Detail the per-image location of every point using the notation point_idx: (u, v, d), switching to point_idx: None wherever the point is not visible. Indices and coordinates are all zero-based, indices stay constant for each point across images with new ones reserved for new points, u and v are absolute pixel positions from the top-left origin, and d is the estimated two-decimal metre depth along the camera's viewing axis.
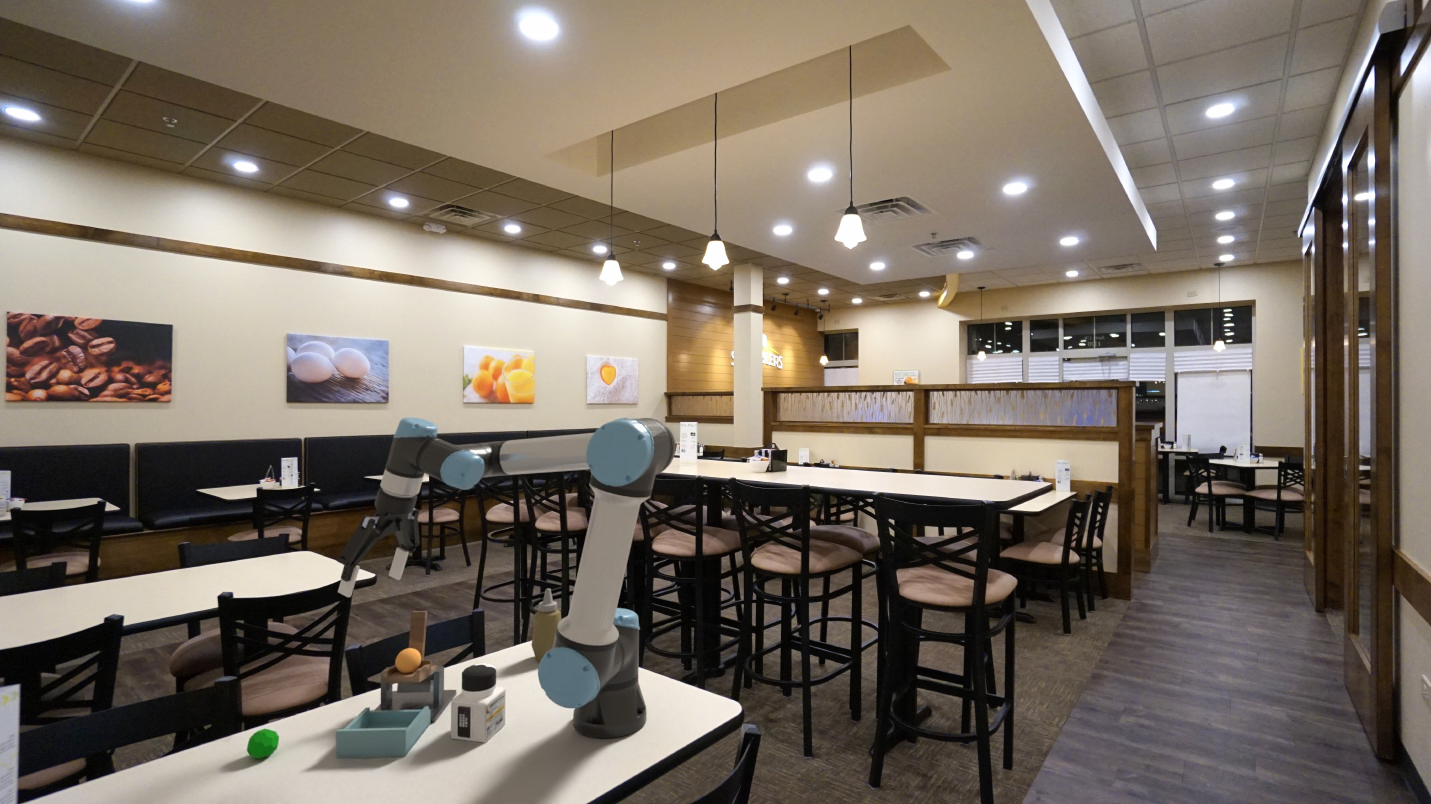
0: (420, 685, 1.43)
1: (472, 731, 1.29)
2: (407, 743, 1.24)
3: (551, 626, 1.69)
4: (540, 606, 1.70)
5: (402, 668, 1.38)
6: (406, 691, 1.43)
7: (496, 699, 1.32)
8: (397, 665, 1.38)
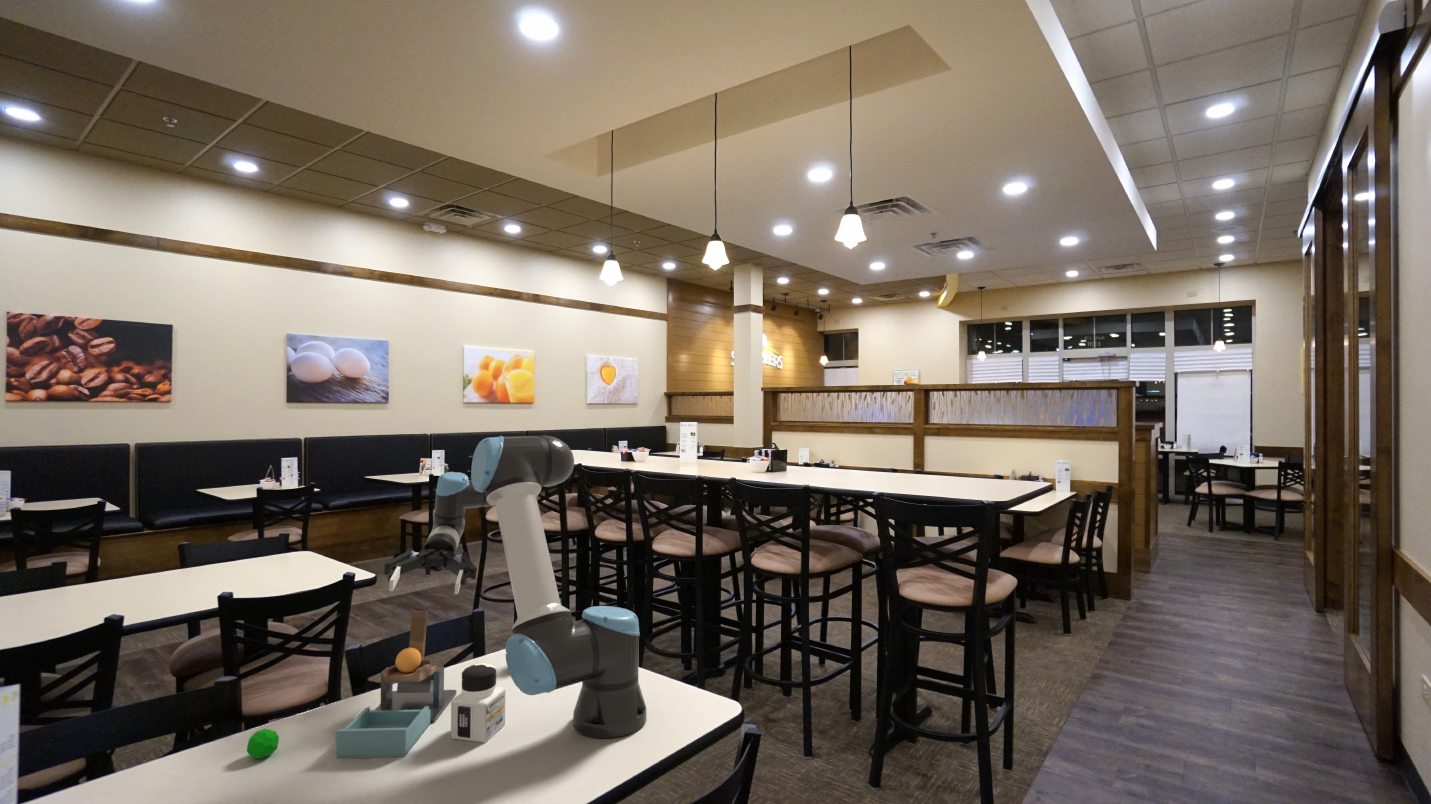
0: (420, 685, 1.43)
1: (472, 731, 1.29)
2: (407, 743, 1.24)
3: None
4: None
5: (402, 667, 1.38)
6: (406, 691, 1.43)
7: (496, 699, 1.32)
8: (397, 664, 1.38)
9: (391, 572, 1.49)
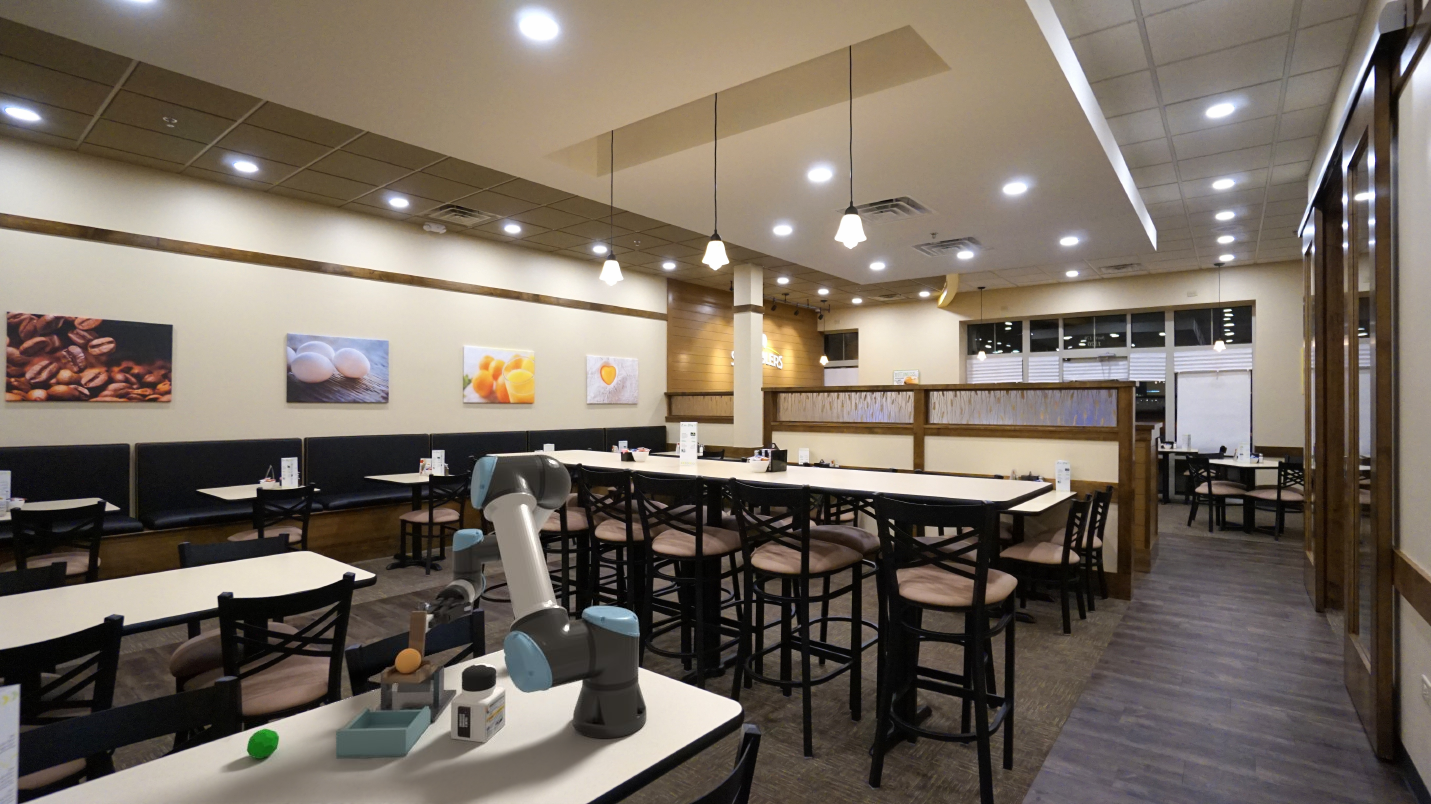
0: (420, 685, 1.43)
1: (472, 731, 1.29)
2: (407, 743, 1.24)
3: None
4: None
5: (402, 668, 1.38)
6: (406, 691, 1.43)
7: (496, 699, 1.32)
8: (397, 666, 1.38)
9: None
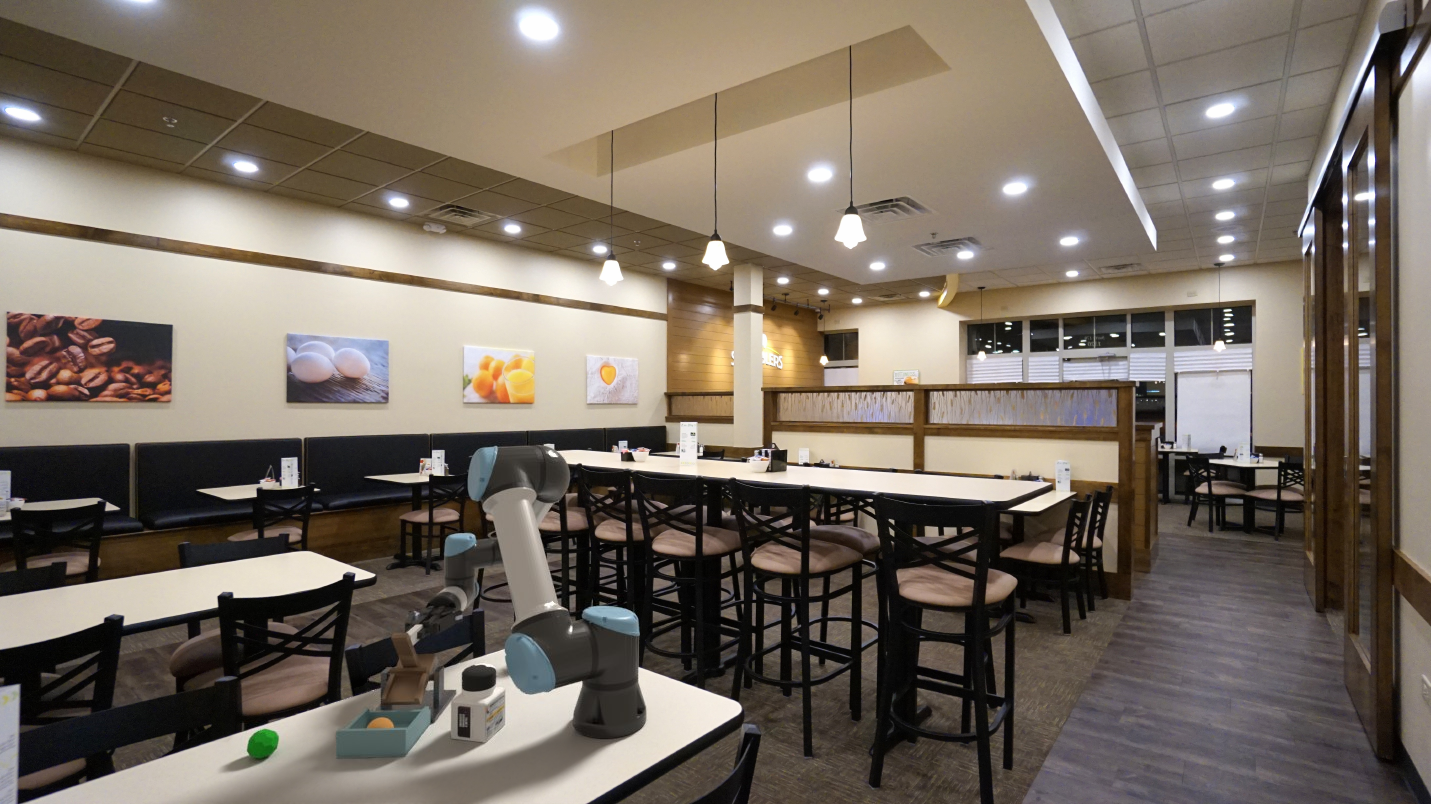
0: None
1: (472, 731, 1.29)
2: (407, 743, 1.24)
3: None
4: None
5: None
6: None
7: (496, 699, 1.32)
8: None
9: (409, 630, 1.44)
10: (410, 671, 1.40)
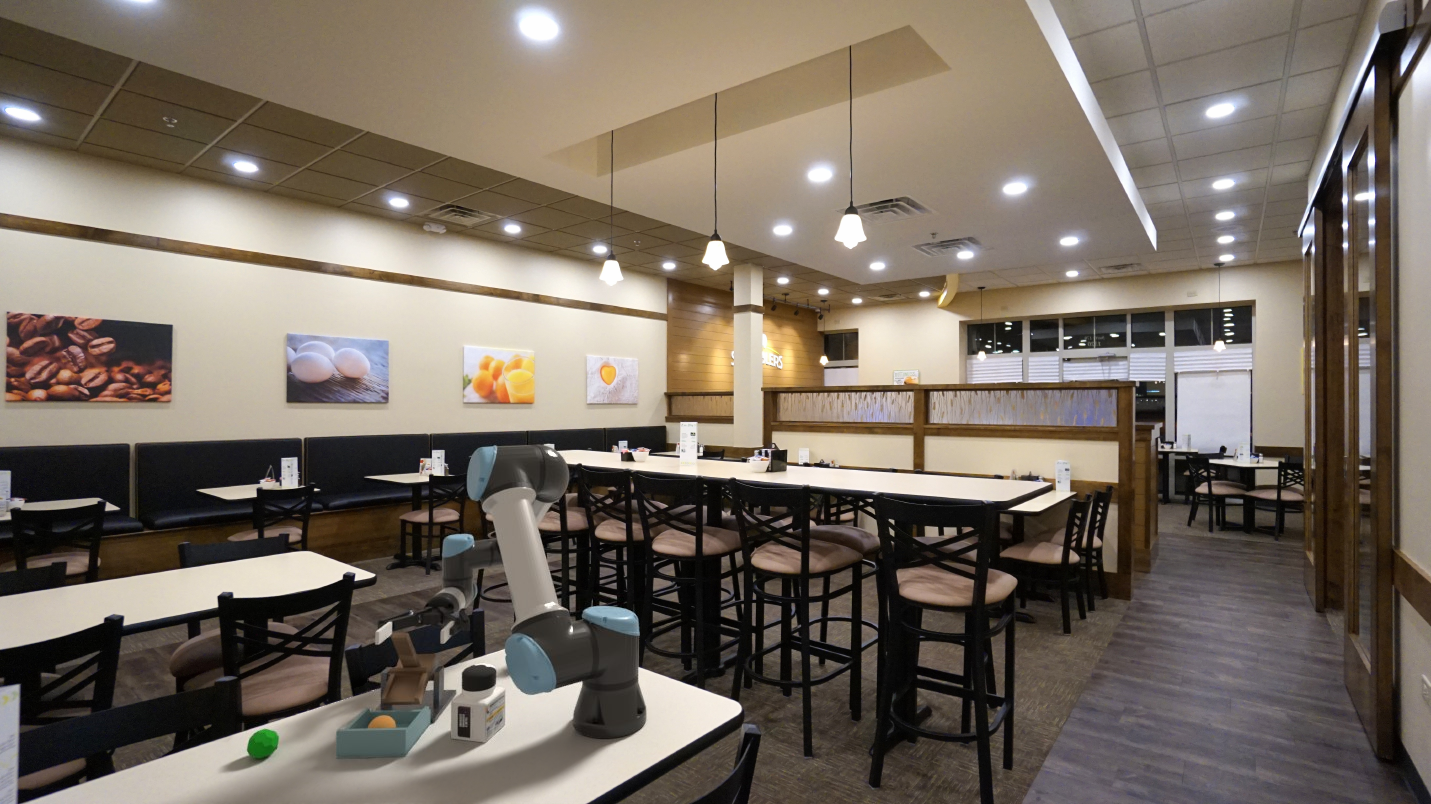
0: None
1: (472, 731, 1.29)
2: (407, 743, 1.24)
3: None
4: None
5: (375, 725, 1.26)
6: None
7: (496, 699, 1.32)
8: (370, 724, 1.26)
9: None
10: (410, 671, 1.40)
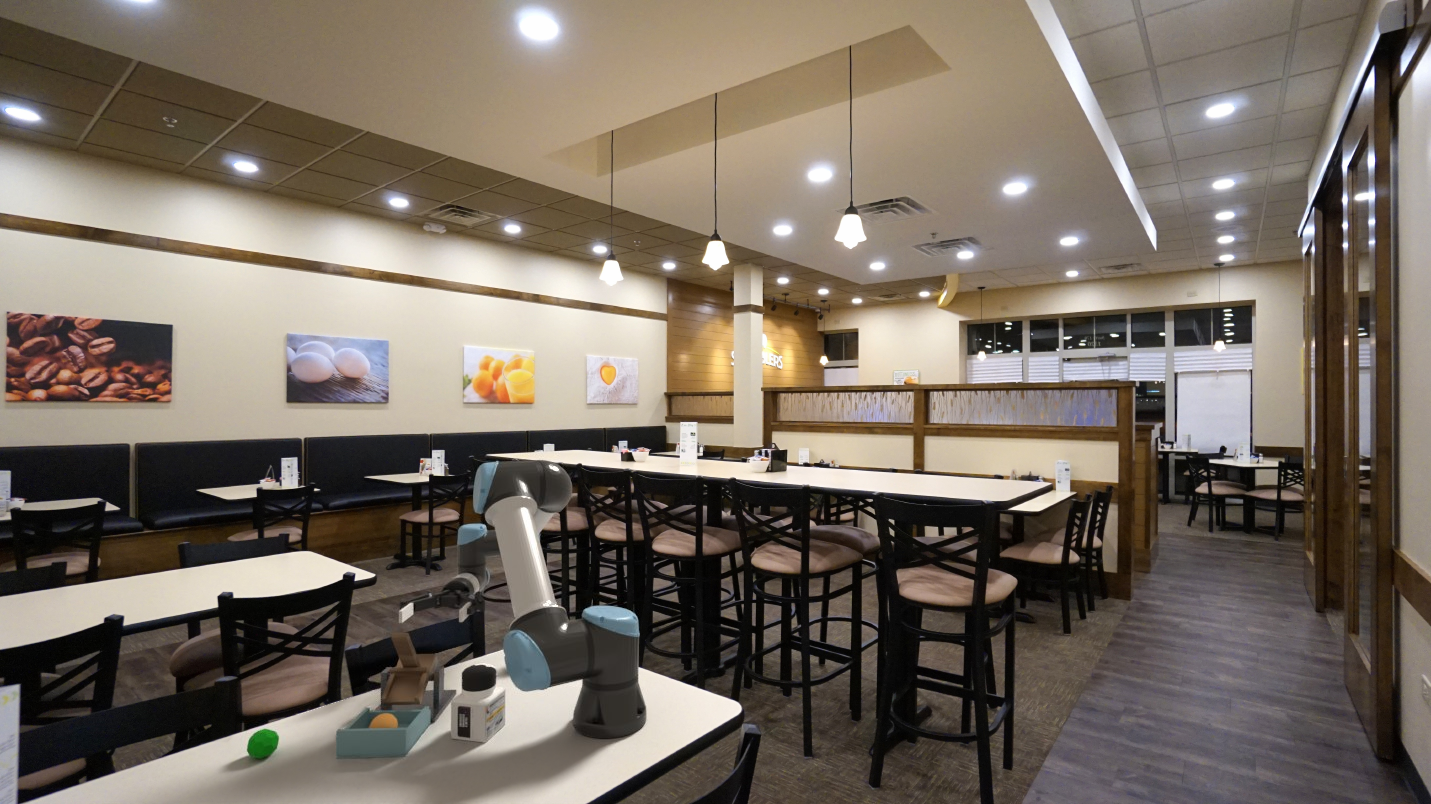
0: None
1: (472, 731, 1.29)
2: (407, 743, 1.24)
3: None
4: None
5: (379, 718, 1.27)
6: None
7: (496, 699, 1.32)
8: (374, 719, 1.28)
9: (404, 607, 1.57)
10: (410, 671, 1.40)
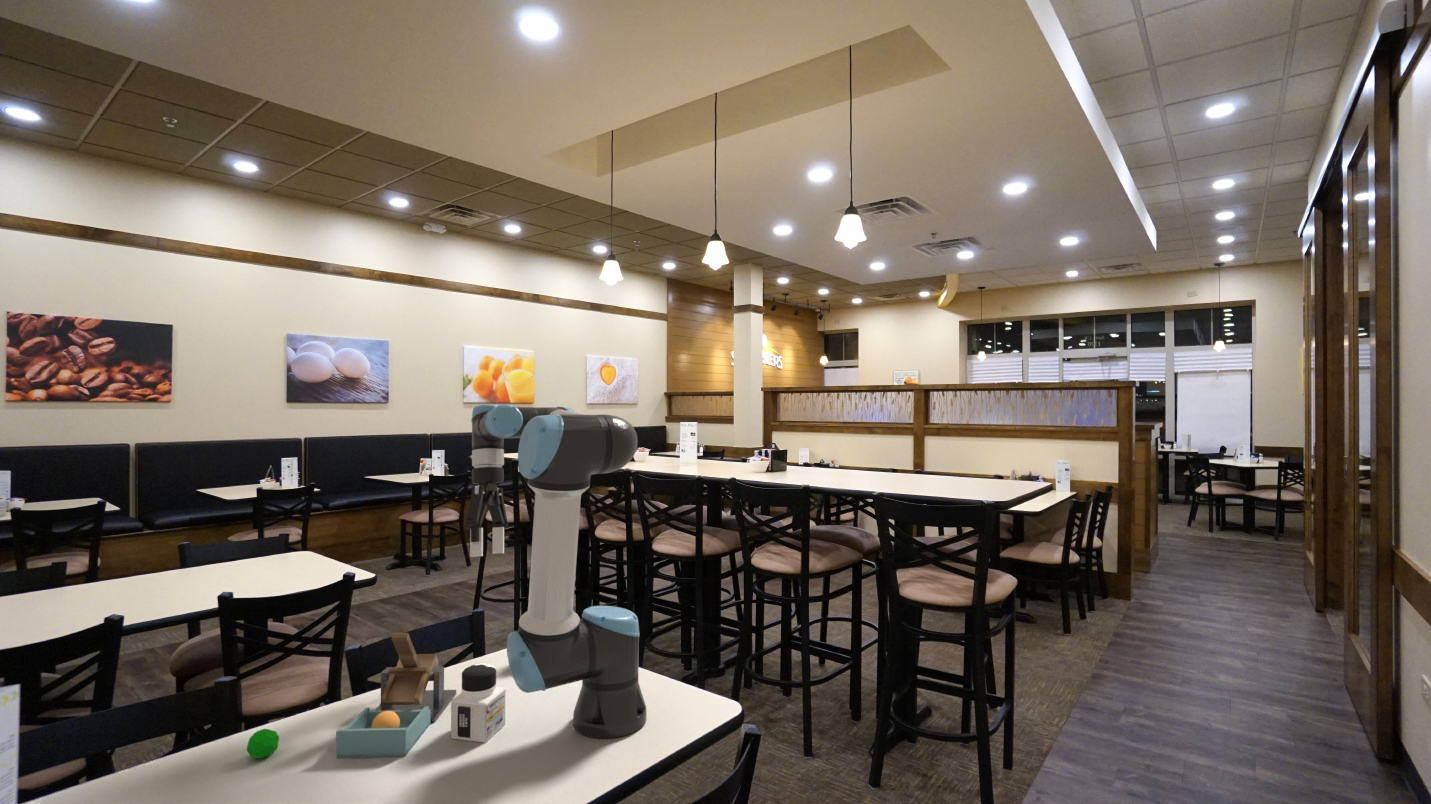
0: None
1: (472, 731, 1.29)
2: (407, 743, 1.24)
3: None
4: None
5: (383, 712, 1.29)
6: None
7: (496, 699, 1.32)
8: (378, 714, 1.29)
9: (477, 535, 1.53)
10: (410, 671, 1.40)
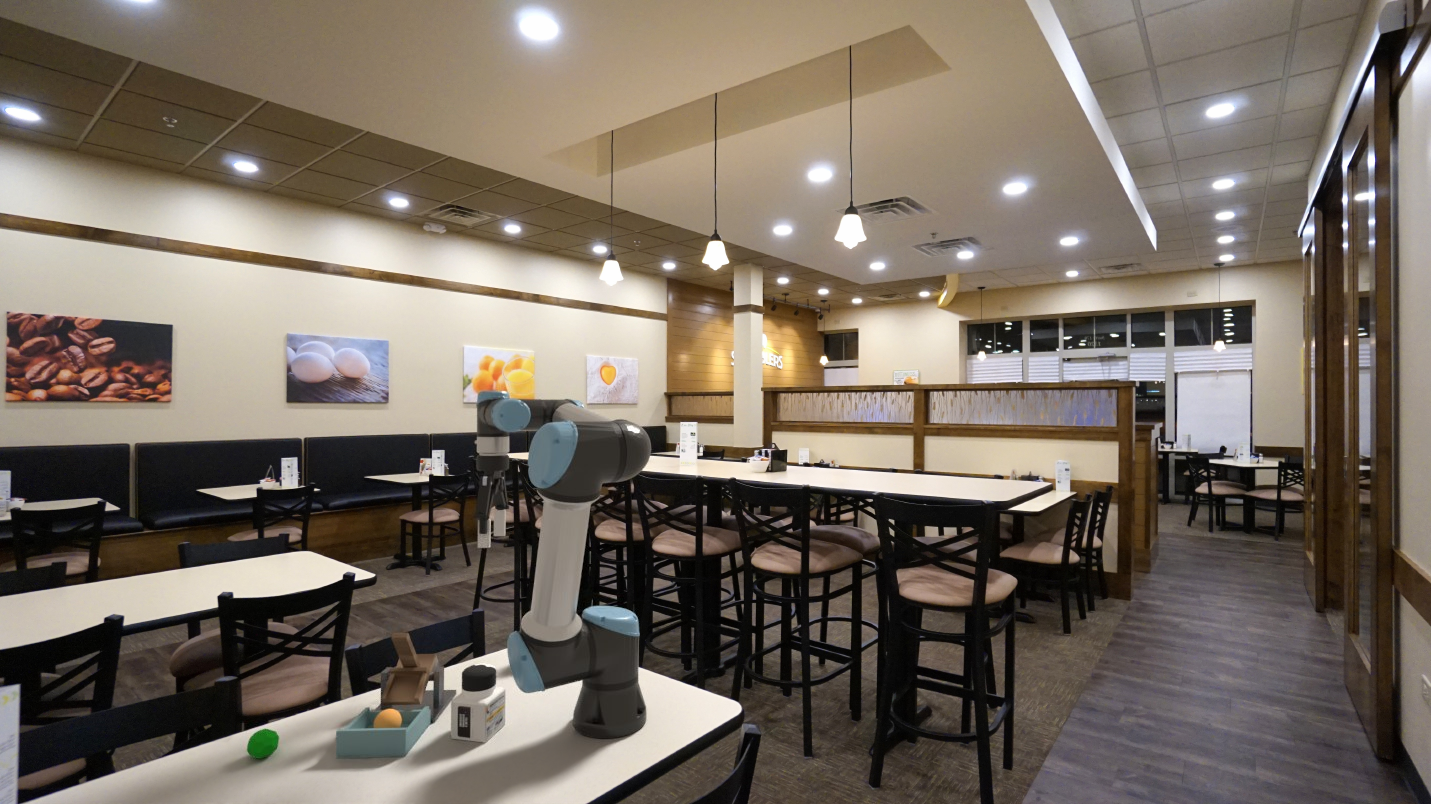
0: None
1: (472, 731, 1.29)
2: (407, 743, 1.24)
3: None
4: None
5: (387, 709, 1.31)
6: None
7: (496, 699, 1.32)
8: (382, 711, 1.31)
9: (486, 528, 1.52)
10: (410, 671, 1.40)
